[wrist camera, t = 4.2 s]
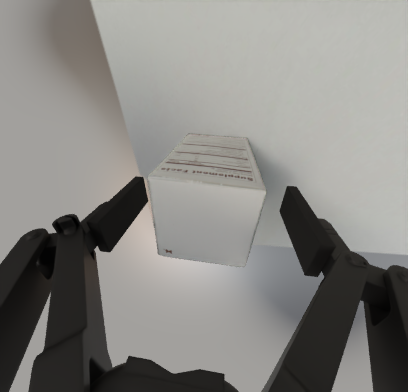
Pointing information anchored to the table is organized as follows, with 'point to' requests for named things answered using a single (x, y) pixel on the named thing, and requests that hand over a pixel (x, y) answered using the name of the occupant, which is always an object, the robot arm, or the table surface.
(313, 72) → the table surface
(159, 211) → the white packaging box
